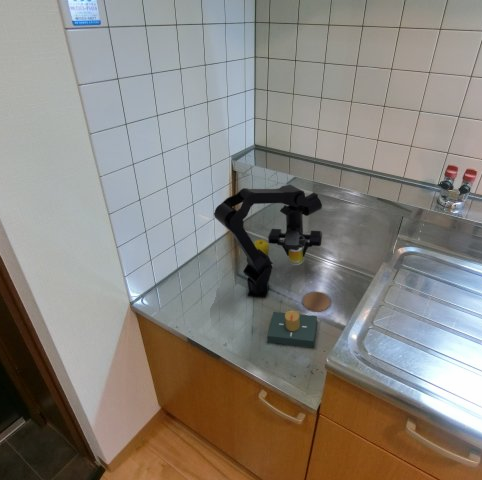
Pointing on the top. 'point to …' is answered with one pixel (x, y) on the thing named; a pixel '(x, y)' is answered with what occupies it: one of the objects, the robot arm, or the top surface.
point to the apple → (262, 245)
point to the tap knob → (292, 320)
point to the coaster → (316, 301)
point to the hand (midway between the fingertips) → (295, 255)
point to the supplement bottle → (296, 256)
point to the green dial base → (298, 337)
